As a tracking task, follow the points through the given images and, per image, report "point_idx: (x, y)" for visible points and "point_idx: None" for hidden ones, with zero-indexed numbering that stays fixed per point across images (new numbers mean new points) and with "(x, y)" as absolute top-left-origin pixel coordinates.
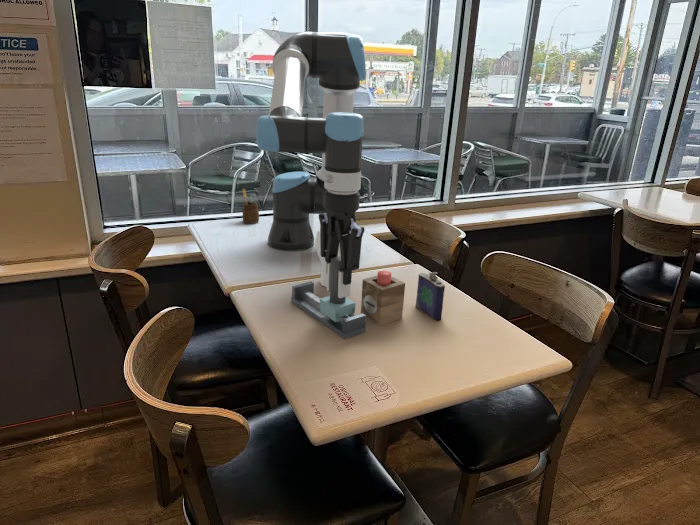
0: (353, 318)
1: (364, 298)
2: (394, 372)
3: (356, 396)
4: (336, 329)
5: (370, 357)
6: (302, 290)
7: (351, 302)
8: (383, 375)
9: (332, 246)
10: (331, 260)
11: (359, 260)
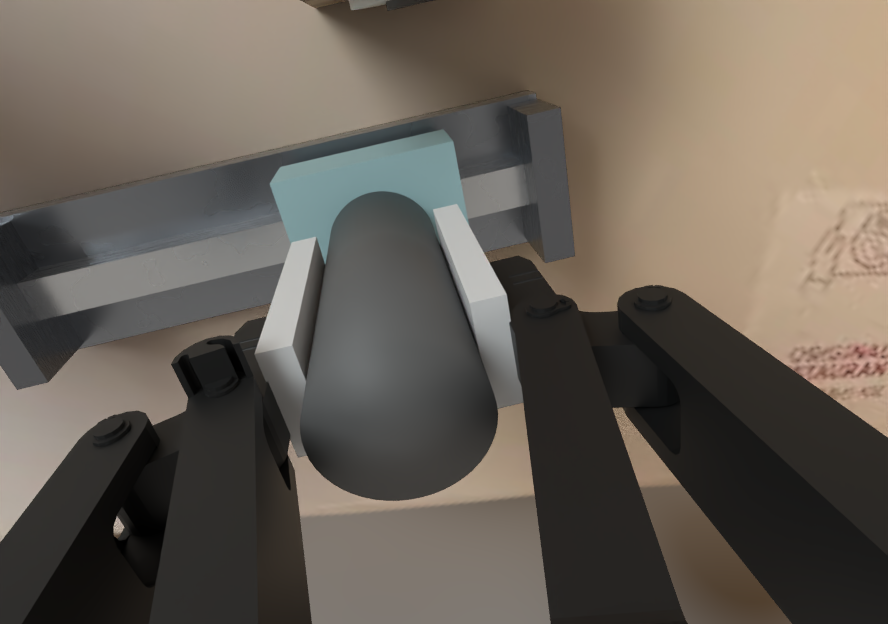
0: (562, 203)
1: (358, 6)
2: (866, 140)
3: (867, 330)
4: (483, 249)
5: (726, 183)
6: (34, 317)
7: (440, 166)
8: (850, 194)
9: (300, 599)
10: (393, 496)
11: (746, 341)
